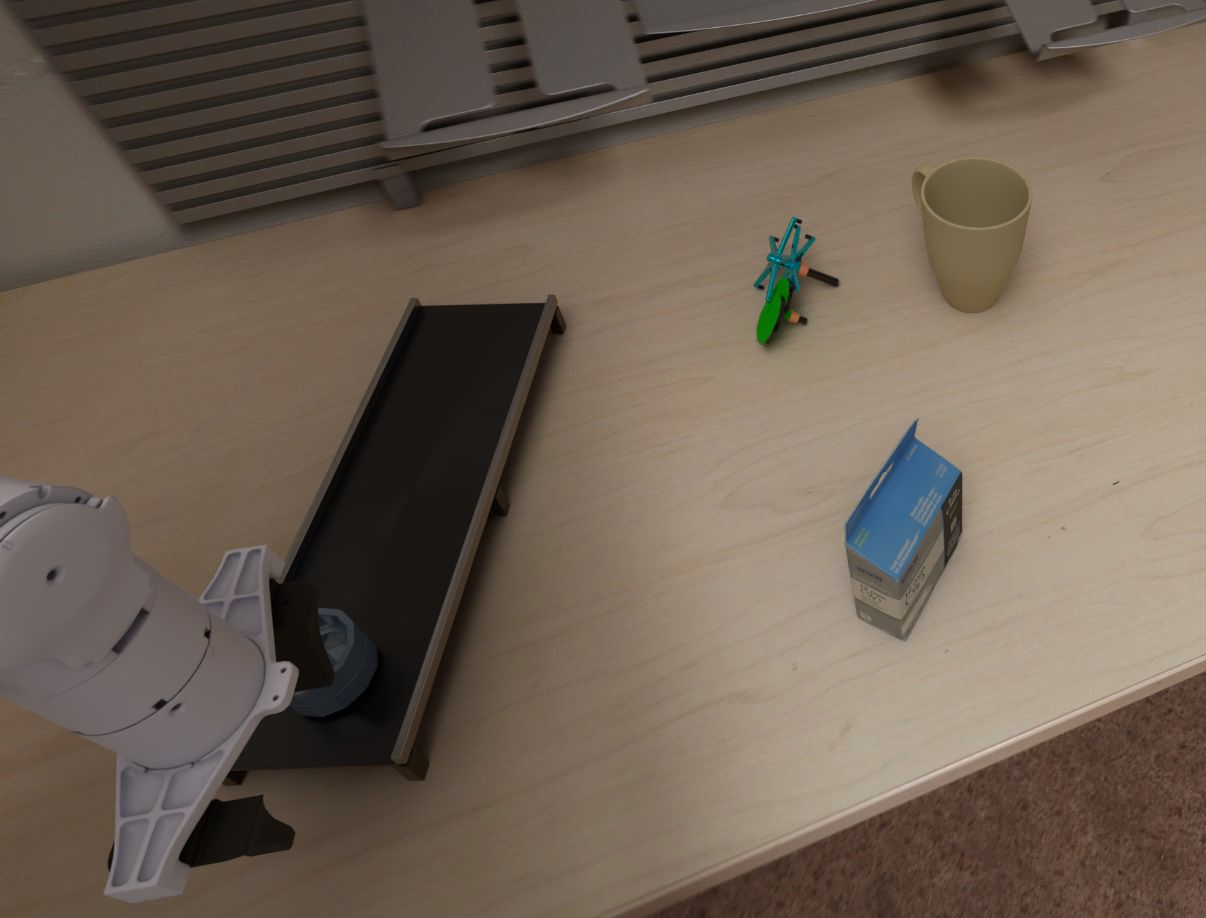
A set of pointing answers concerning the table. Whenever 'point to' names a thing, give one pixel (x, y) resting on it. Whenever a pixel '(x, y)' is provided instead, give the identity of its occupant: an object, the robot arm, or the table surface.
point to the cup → (339, 666)
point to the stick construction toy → (785, 282)
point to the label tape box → (903, 535)
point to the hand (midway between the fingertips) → (294, 759)
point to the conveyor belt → (407, 522)
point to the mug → (972, 226)
